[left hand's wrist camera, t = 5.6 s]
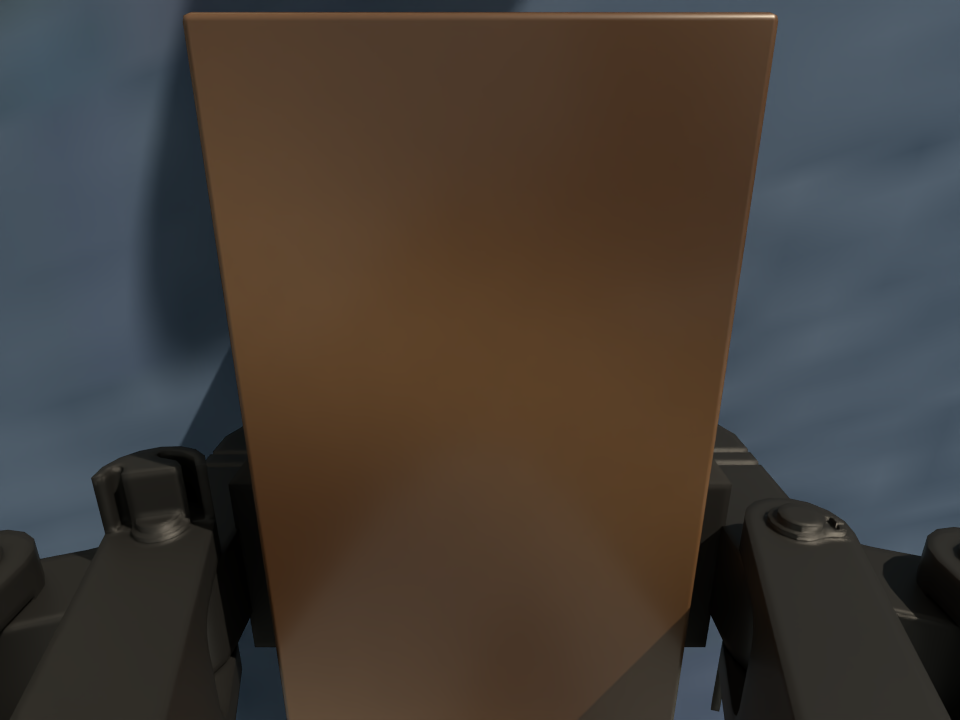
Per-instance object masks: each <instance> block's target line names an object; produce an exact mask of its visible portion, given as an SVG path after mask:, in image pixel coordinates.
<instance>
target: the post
mask: <svg viewBox="0 0 960 720" xmlns="http://www.w3.org/2000/svg"><path fill="white" fill-rule="evenodd" d="M777 25H778V18H777V15H775V14H772V13H770V12H190V13H188V14H186V15H184V16H183V26H184V33H185V40H186V46H187V53H188V60H189V66H190V73H191V80H192V87H193V93H194V100H195V107H196V113H197V120H198V127H199V133H200V140H201V147H202V154H203V160H204V167H205V174H206V180H207V187H208V194H209V201H210V207H211V214H212V221H213V227H214V234H215V241H216V247H217V254H218V261H219V268H220V274H221V281H222V288H223V294H224V301H225V308H226V314H227V321H228V328H229V335H230V341H231V348H232V355H233V361H234V368H235V375H236V382H237V388H238V395H239V402H240V408H241V415H242V422H243V428H244V435H245V442H246V449H247V455H248V462H249V469H250V475H251V482H252V489H253V496H254V502H255V509H256V516H257V522H258V529H259V536H260V542H261V549H262V556H263V563H264V569H265V576H266V583H267V589H268V596H269V603H270V609H271V616H272V623H273V630H274V636H275V643H276V650H277V656H278V663H279V670H280V677H281V683H282V690H283V697H284V703H285V710H286V717H287V720H673V719H674V712H675V705H676V699H677V692H678V685H679V679H680V672H681V665H682V659H683V652H684V645H685V639H686V632H687V625H688V619H689V612H690V605H691V599H692V592H693V585H694V579H695V572H696V565H697V559H698V552H699V545H700V539H701V532H702V525H703V519H704V512H705V505H706V499H707V492H708V485H709V479H710V472H711V465H712V459H713V452H714V445H715V439H716V432H717V425H718V419H719V412H720V405H721V399H722V392H723V385H724V379H725V372H726V365H727V359H728V352H729V345H730V339H731V332H732V325H733V319H734V312H735V305H736V298H737V292H738V285H739V278H740V272H741V265H742V258H743V252H744V245H745V238H746V232H747V225H748V218H749V212H750V205H751V198H752V192H753V185H754V178H755V172H756V165H757V158H758V152H759V145H760V138H761V132H762V125H763V118H764V112H765V105H766V98H767V92H768V85H769V78H770V72H771V65H772V58H773V52H774V45H775V38H776V32H777Z"/></svg>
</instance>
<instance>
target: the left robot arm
mask: <svg viewBox="0 0 960 720" xmlns="http://www.w3.org/2000/svg"><path fill="white" fill-rule="evenodd" d="M91 479H92V483H93V487H94V491H95V495H96V499H97V503H98V507H99V511H100V515H101V519H102V523H103V527H104V531H105V536H104V538H103V540H102V542H101V543H100V545H99V547H97V548H93V549H89V550H85V551H79V552H74V553H69V554H64V555H58V556H53V557H48V558H43V559H40V557H39V554H38V551H37V548H36V544H35V541H34V539H33V538H32V537H31V536H29V535H28V534H27V533H25V532H20V531H12V530H2V531H0V720H236V712H237V705H238V697H239V689H240V681H241V673H242V666H241V659H240V653H239V647H238V641H239V639H240V637H241V635H242V633H243V631H244V629H245V627H246V625H247V623H248V620H249V618H250V619H251V625H252V632H253V638H254V644H255V647H276V643H275V636H274V630H273V623H272V616H271V609H270V603H269V596H268V589H267V583H266V576H265V569H264V563H263V556H262V549H261V542H260V536H259V529H258V522H257V516H256V509H255V502H254V496H253V489H252V482H251V475H250V469H249V462H248V455H247V449H246V442H245V435H244V428H243V427H241V428H239V429H238V430H236V431H234V432H233V433H231V434H229V435H227V436H226V437H225V438H224V439H223V440H222V442H221V443H220V444H219V445H218V446H217V447H216V449H215V450H214V451H213V454H211V455H210V456H209V457H208V458H207V459H206V461H205V455H203V454H202V453H200V452H199V451H197V450H196V449H192V448H186V447H181V446H175V447H158V448H153V449H147V450H142V451H138V452H135V453H132V454H129V455H127V456H124V457H121V458H118V459H117V460H115V461H113V462H111V463H109V464H107V465H106V466H104V467H102V468H101V469H100V470H99V471H98V472H97V473H96V474H95V475H94V476H93V477H92V478H91ZM710 616H711V617H712V619H713V621H714V623H715V625H716V627H717V629H718V631H719V633H720V635H721V637H722V639H723V641H722V647H721V653H720V658H719V664H718V670H717V675H716V681H715V686H714V692H713V698H712V705H711V710H714V711H719V710H720V704H721V699H722V703H723V711H724V719H725V720H960V528H957V527H951V528H943V529H936V530H935V531H934V532H932V533H931V534H930V535H928V536H927V539H926V543H925V546H924V549H923V553H922V556H917V555H911V554H906V553H901V552H896V551H890V550H885V549H880V548H875V547H870V546H866V545H862V544H860V542H859V540H858V538H857V537H856V535H855V533H854V532H853V531H852V529H851V528H850V527H849V526H848V525H847V523H846V522H845V521H843V520H842V519H840V518H839V517H837V516H836V515H834V514H833V513H831V512H830V511H828V510H825V509H823V508H820V507H818V506H816V505H813V504H811V503H808V502H803V501H799V500H794V499H790V498H789V497H788V496H787V495H786V494H785V493H784V491H783V490H782V489H781V488H780V487H779V486H778V484H777V483H776V482H775V481H774V480H773V478H772V477H771V476H770V475H769V474H768V473H767V471H766V470H765V469H764V468H763V467H762V466H761V465H758V461H757V460H756V459H755V457H754V456H753V455H752V454H751V453H750V452H748V449H747V448H746V447H745V446H744V444H743V443H742V442H741V441H740V440H739V439H738V437H737V436H736V435H735V434H733V433H732V432H730V431H728V430H726V429H725V428H723V427H721V426H720V425H717V432H716V439H715V445H714V452H713V459H712V465H711V472H710V479H709V485H708V492H707V499H706V505H705V512H704V519H703V525H702V532H701V539H700V545H699V552H698V559H697V565H696V572H695V579H694V585H693V592H692V599H691V605H690V612H689V619H688V625H687V632H686V639H685V645H684V647H705V646H706V640H707V634H708V628H709V622H710Z"/></svg>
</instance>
